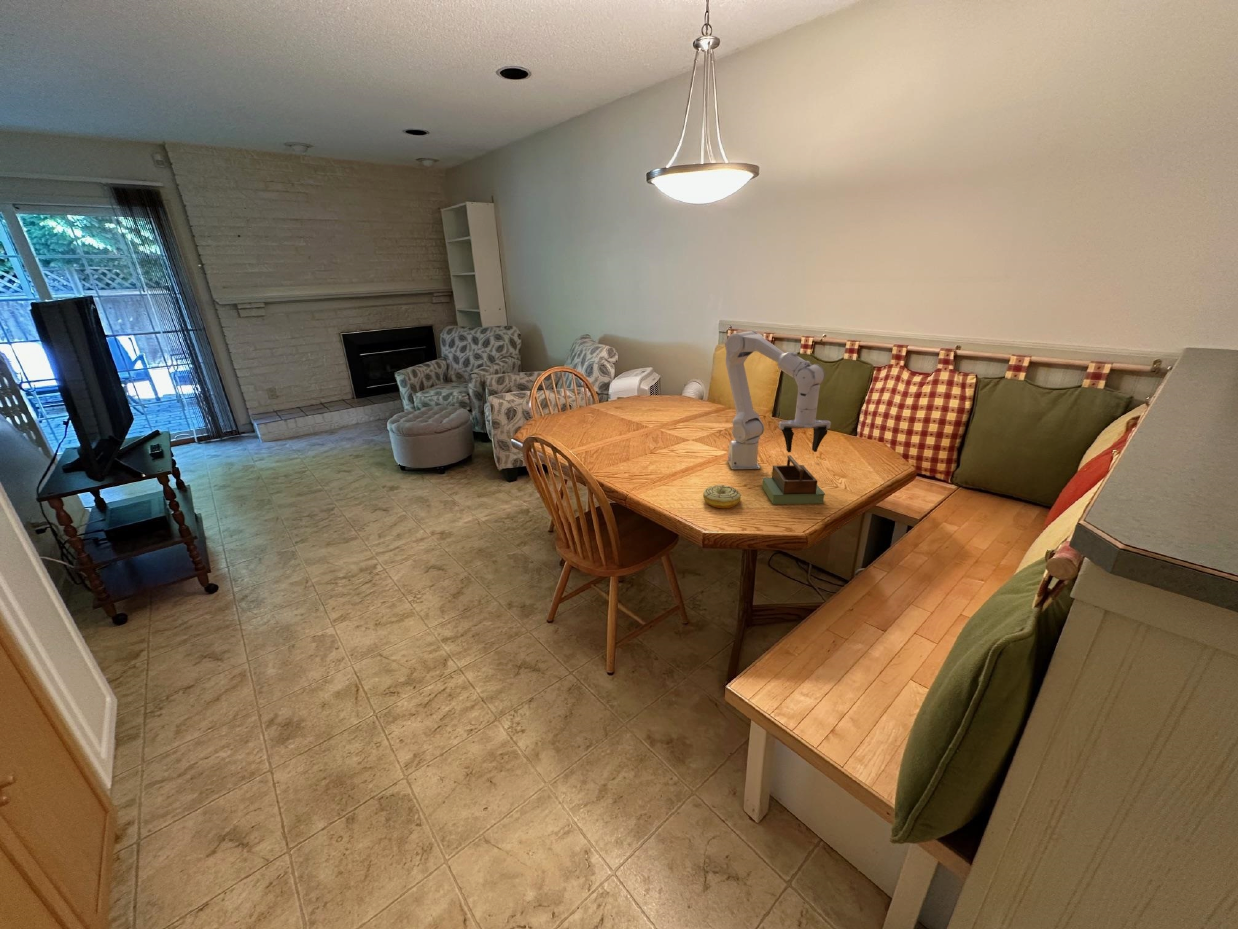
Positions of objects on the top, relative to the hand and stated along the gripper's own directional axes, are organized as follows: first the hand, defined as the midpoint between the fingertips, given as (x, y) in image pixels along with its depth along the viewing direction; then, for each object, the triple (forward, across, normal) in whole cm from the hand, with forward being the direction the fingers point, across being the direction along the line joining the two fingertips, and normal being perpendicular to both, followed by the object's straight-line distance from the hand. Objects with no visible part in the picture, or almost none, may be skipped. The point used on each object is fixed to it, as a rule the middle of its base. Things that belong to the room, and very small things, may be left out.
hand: (801, 451), depth 144 cm
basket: (+7, -4, -9) cm, 12 cm away
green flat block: (+10, -5, -9) cm, 14 cm away
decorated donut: (+11, -26, -13) cm, 31 cm away
